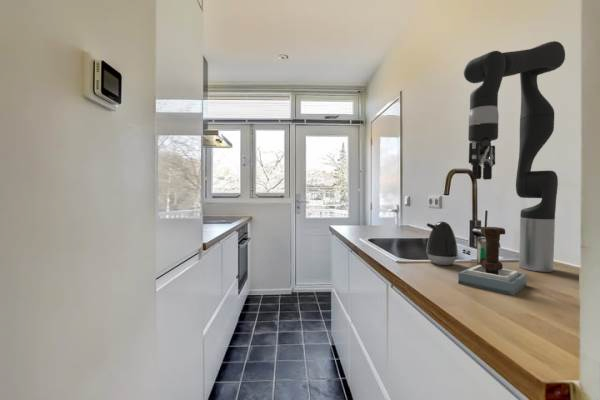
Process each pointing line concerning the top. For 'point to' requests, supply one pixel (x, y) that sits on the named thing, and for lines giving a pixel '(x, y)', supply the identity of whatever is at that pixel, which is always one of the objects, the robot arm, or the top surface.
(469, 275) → the socket tray
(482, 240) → the food container
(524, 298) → the top surface
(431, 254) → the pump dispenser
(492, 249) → the bolt
